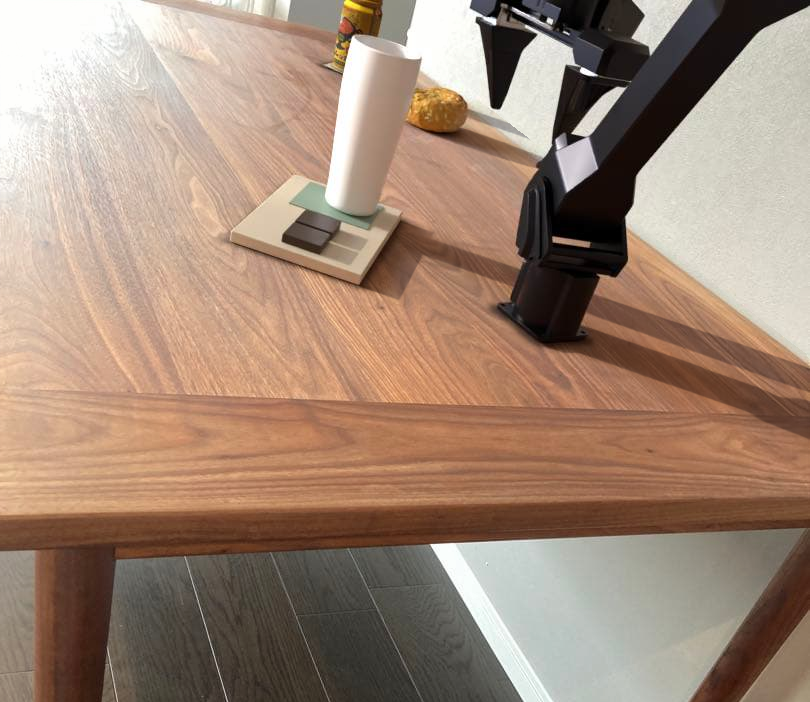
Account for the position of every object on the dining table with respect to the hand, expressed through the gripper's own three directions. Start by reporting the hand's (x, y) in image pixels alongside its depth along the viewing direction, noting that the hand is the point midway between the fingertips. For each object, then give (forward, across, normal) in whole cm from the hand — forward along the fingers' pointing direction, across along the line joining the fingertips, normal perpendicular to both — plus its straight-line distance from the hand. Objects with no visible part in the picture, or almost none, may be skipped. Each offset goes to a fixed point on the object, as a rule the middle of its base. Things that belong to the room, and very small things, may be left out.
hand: (524, 126), depth 87 cm
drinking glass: (+12, +8, +12) cm, 19 cm away
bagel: (+14, +41, -23) cm, 49 cm away
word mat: (+13, +6, +16) cm, 22 cm away
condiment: (+14, +63, -25) cm, 69 cm away
